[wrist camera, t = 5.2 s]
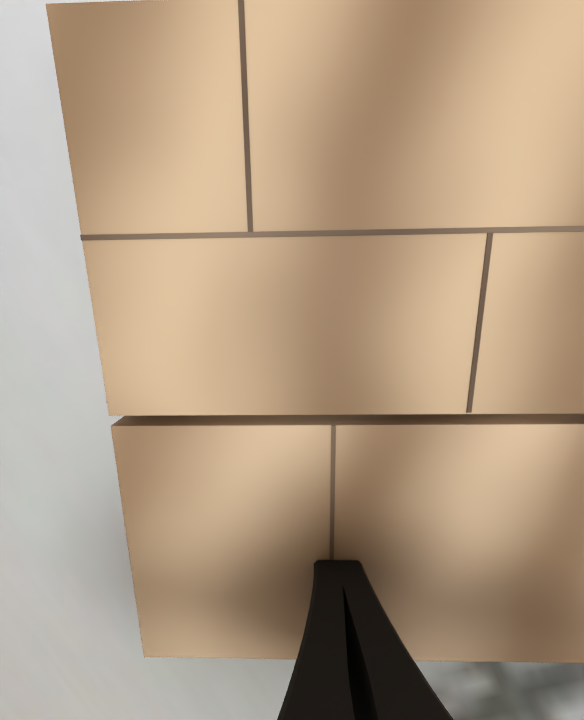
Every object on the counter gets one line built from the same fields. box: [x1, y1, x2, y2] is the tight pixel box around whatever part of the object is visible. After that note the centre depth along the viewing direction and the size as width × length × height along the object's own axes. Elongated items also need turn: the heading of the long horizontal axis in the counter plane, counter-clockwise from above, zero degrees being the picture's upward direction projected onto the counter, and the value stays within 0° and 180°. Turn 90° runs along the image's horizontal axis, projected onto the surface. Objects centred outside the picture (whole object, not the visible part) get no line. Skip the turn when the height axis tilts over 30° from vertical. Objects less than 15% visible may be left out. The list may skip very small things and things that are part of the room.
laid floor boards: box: [46, 0, 584, 416], centre depth 8 cm, size 14×9×1 cm, turn 91°
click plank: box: [111, 413, 584, 663], centre depth 10 cm, size 14×8×1 cm, turn 91°
